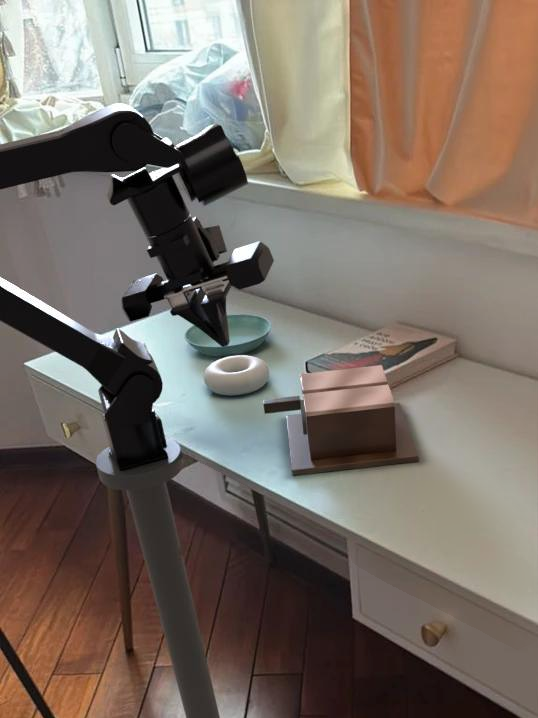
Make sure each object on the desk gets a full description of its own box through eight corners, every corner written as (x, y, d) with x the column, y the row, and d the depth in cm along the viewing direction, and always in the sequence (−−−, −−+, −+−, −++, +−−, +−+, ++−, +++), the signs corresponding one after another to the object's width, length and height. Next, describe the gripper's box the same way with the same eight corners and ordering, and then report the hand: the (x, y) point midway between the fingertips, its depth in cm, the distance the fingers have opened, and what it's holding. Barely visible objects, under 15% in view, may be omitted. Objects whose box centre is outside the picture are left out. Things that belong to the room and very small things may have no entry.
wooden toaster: (292, 475, 106) (285, 421, 102) (287, 420, 119) (280, 370, 115) (418, 461, 107) (417, 407, 102) (400, 407, 119) (398, 357, 115)
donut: (240, 368, 136) (192, 389, 130) (238, 347, 134) (188, 367, 128) (284, 382, 130) (235, 404, 124) (281, 360, 128) (232, 382, 122)
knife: (268, 440, 111) (263, 403, 108) (268, 436, 112) (263, 399, 109) (389, 427, 112) (387, 390, 108) (387, 422, 113) (385, 385, 110)
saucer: (178, 339, 148) (175, 324, 146) (259, 323, 151) (257, 308, 150) (198, 368, 137) (195, 352, 135) (284, 349, 140) (283, 334, 139)
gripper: (256, 172, 99) (305, 295, 109) (123, 219, 106) (181, 330, 116) (233, 211, 91) (288, 339, 102) (91, 259, 98) (156, 374, 108)
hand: (226, 344), depth 107 cm, fingers closed
